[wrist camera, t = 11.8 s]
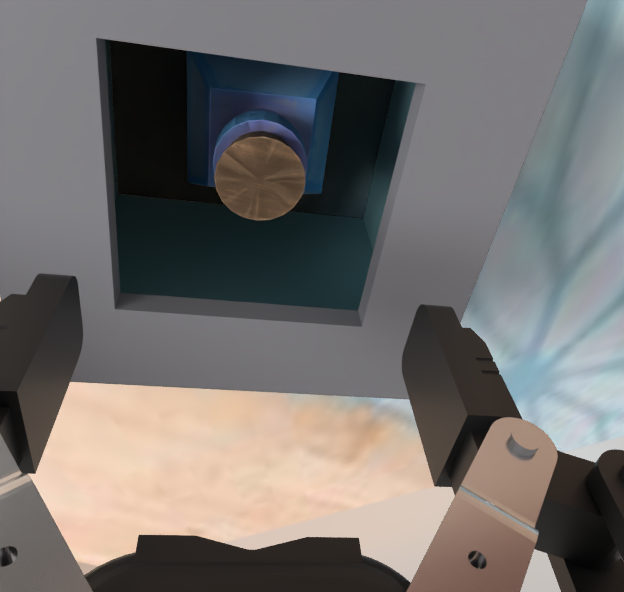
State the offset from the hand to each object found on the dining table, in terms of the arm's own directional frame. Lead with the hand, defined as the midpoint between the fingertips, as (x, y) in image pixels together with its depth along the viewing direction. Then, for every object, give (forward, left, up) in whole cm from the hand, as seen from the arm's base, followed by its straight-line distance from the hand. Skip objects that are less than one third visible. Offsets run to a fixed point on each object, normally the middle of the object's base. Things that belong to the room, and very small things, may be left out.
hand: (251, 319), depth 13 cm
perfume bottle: (0, 0, -20) cm, 20 cm away
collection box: (0, 0, -20) cm, 20 cm away
